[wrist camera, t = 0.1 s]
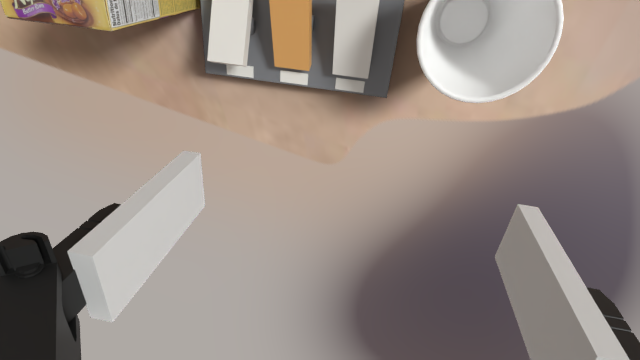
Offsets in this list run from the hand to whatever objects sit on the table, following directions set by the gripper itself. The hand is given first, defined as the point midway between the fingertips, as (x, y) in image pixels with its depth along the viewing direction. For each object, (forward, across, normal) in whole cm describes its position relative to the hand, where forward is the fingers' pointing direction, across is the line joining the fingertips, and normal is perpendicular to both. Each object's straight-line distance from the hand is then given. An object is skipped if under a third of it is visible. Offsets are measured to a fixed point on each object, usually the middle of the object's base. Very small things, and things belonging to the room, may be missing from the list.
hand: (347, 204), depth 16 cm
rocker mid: (+25, -8, +4) cm, 27 cm away
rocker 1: (+25, -14, +2) cm, 29 cm away
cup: (+28, +8, +5) cm, 30 cm away
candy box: (+28, -24, +5) cm, 37 cm away
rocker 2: (+25, -2, +4) cm, 26 cm away
